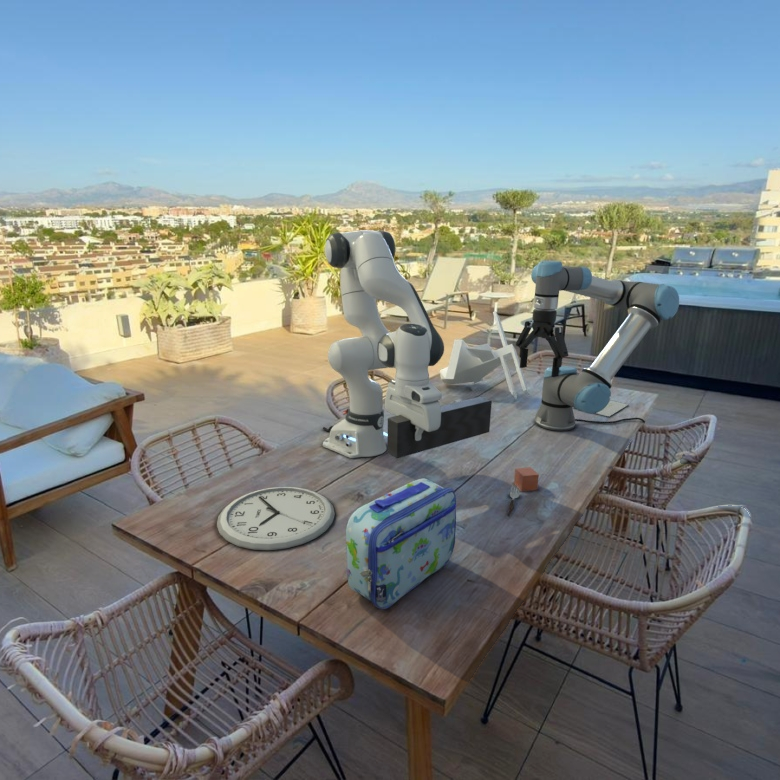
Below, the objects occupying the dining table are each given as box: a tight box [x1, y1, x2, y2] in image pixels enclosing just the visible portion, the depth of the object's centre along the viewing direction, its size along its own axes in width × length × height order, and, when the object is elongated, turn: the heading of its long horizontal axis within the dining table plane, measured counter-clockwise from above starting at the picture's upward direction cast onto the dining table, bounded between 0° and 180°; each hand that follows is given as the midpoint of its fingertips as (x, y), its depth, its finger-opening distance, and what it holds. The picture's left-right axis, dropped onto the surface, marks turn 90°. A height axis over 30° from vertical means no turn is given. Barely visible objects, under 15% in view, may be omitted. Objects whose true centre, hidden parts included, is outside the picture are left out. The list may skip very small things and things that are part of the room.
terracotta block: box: [513, 466, 540, 492], centre depth 154 cm, size 5×5×5 cm
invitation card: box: [595, 400, 629, 418], centre depth 226 cm, size 21×1×15 cm
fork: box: [507, 483, 521, 517], centre depth 145 cm, size 3×16×2 cm, turn 160°
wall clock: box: [216, 486, 336, 551], centre depth 136 cm, size 30×2×30 cm
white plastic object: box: [438, 310, 531, 400], centre depth 245 cm, size 37×45×31 cm
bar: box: [386, 396, 493, 459], centre depth 147 cm, size 34×4×10 cm, turn 125°
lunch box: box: [345, 477, 457, 610], centre depth 110 cm, size 26×11×21 cm, turn 134°
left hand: (410, 436), depth 141 cm, fingers closed on bar, 4 cm apart
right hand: (538, 371), depth 178 cm, fingers open, 13 cm apart
